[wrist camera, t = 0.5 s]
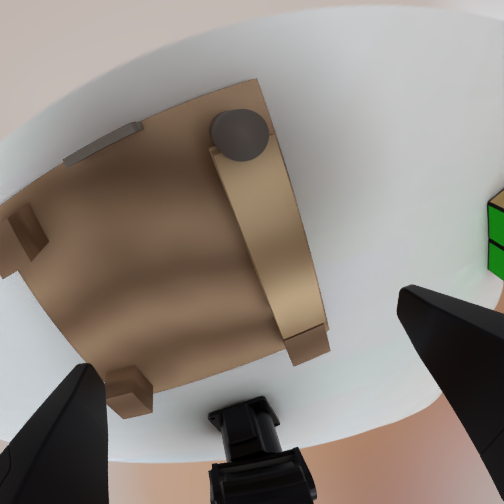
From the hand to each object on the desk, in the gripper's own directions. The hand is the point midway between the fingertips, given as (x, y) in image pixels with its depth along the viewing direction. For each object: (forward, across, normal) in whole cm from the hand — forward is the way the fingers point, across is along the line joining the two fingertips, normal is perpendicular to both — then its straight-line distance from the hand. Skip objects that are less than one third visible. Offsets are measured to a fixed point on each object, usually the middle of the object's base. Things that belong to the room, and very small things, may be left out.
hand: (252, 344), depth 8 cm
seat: (+13, +4, +4) cm, 14 cm away
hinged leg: (+12, -3, +1) cm, 12 cm away
